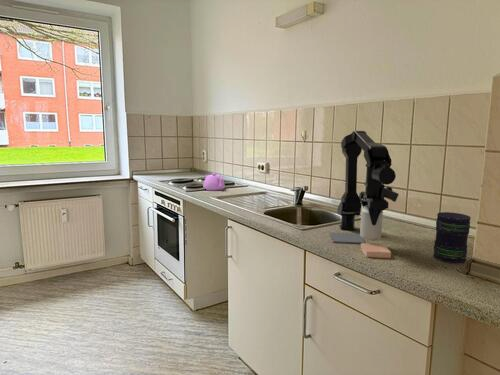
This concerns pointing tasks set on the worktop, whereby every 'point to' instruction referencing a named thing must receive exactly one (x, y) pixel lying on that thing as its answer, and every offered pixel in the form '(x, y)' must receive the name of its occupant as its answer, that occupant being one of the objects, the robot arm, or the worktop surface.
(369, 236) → the can
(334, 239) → the mat
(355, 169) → the robot arm
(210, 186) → the teapot
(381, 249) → the tile
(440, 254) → the storage jar
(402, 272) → the worktop surface
